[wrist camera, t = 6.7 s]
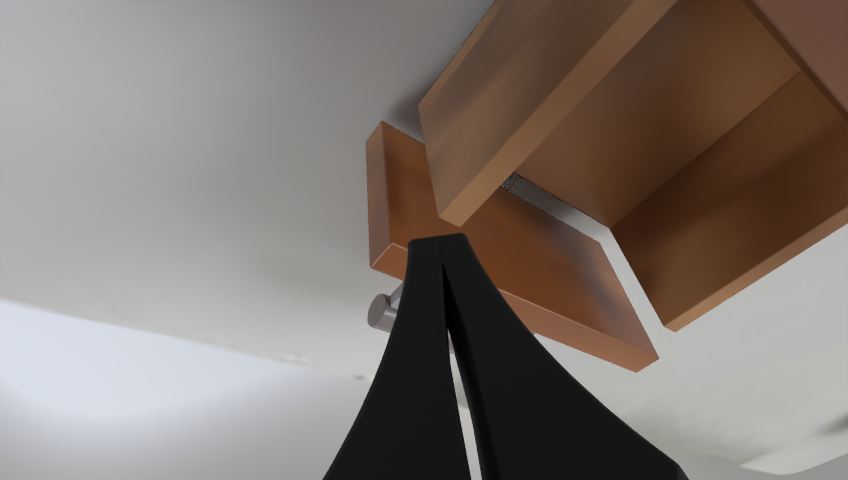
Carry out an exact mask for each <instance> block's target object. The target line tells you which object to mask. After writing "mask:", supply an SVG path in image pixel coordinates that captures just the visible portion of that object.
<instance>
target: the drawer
mask: <svg viewBox="0 0 848 480" xmlns="http://www.w3.org/2000/svg"><path fill="white" fill-rule="evenodd" d="M418 111H419V116H420V123H421V128H422V133H423V139H424V144H423V143H421V142H419V141H418V140H416V139H414V138H412V137H410V136H409V135H407V134H405V133H403V132H402V131H400V130H398V129H396V128H394V127H393V126H391V125H389V124H387V123H386V122H384V121H381V122H380V123H379V125H378V126H377V127H376V129H375V130H374V132H373V133H372V134H371V136H370V137H369V139H368V140H367V141H366V163H367V193H368V224H369V255H370V267H371V268H372V269H375V270H377V271H380V272H382V273H385V274H387V275H390V276H392V277H395V278H397V279H400V280H403V281H404V279H405V274H406V267H407V257H408V243H409V242H410V241H411V240H412V239H418V238H426V237H433V236H440V235H448V234H455V233H463V234H465V235H466V236H467V238H468V240H469V242H470V245H471V247H472V249H473V250H474V252H475V254H476V256H477V258H478V259H479V261H480V263H481V265H482V266H483V268H484V269H485V271H486V273H487V274H488V276H489V277H490V279H491V280H492V282H493V283H494V285H495V286H496V288H497V289H498V290H499V292H500V293H501V295H502V296H503V297H504V299H505V300H506V302H507V303H508V304H509V306H510V307H511V308H512V310H513V311H514V312H515V314H516V315H517V316H518V317H519V318H520V320H521V321H522V322H523V323H524V325H525V326H526V327H527V328H528V330H529V331H530V332H531V333H532V334H534V333H537V334H540V335H542V336H545V337H547V338H550V339H552V340H555V341H557V342H560V343H562V344H565V345H567V346H570V347H573V348H575V349H578V350H580V351H583V352H585V353H588V354H590V355H593V356H595V357H598V358H600V359H603V360H605V361H608V362H611V363H613V364H616V365H618V366H621V367H623V368H626V369H628V370H631V371H633V372H638V371H640V370H642V369H643V368H645V367H647V366H648V365H650V364H652V363H653V362H655V361H656V360H658V359H659V357H658V355H657V353H656V351H655V349H654V347H653V345H652V343H651V341H650V339H649V337H648V335H647V333H646V332H645V330H644V328H643V326H642V324H641V322H640V320H639V318H638V316H637V314H636V312H635V310H634V308H633V306H632V305H631V303H630V301H629V299H628V297H627V295H626V293H625V291H624V289H623V287H622V285H621V283H620V281H619V279H618V277H617V276H616V274H615V272H614V270H613V268H612V266H611V264H610V262H609V260H608V258H607V256H606V254H605V252H604V250H603V249H602V247H601V245H600V243H599V242H597V241H596V240H594V239H592V238H590V237H589V236H587V235H585V234H583V233H581V232H580V231H578V230H576V229H574V228H572V227H571V226H569V225H567V224H565V223H564V222H562V221H560V220H558V219H556V218H555V217H553V216H551V215H549V214H548V213H546V212H544V211H542V210H540V209H539V208H537V207H535V206H533V205H532V204H530V203H528V202H526V201H524V200H523V199H521V198H519V197H517V196H516V195H514V194H512V193H510V192H508V191H507V190H505V189H503V188H501V187H500V185H501V184H502V183H503V182H504V181H505V180H506V179H507V178H508V177H509V176H510V175H511V174H512V173H513V172H515V173H516V174H518V175H520V176H521V177H523V178H525V179H526V180H528V181H530V182H531V183H533V184H535V185H537V186H538V187H540V188H542V189H543V190H545V191H547V192H548V193H550V194H552V195H553V196H555V197H557V198H559V199H560V200H562V201H564V202H565V203H567V204H569V205H570V206H572V207H574V208H575V209H577V210H579V211H581V212H582V213H584V214H586V215H587V216H589V217H591V218H592V219H594V220H596V221H597V222H599V223H601V224H603V225H604V226H606V227H608V228H609V229H610V231H611V232H612V234H613V236H614V238H615V240H616V241H617V243H618V245H619V247H620V249H621V250H622V252H623V254H624V256H625V258H626V259H627V261H628V263H629V265H630V267H631V268H632V270H633V272H634V274H635V276H636V277H637V279H638V281H639V283H640V285H641V286H642V288H643V290H644V292H645V294H646V295H647V297H648V299H649V301H650V303H651V304H652V306H653V308H654V310H655V312H656V313H657V315H658V317H659V319H660V321H661V322H662V324H663V326H664V327H666V328H668V329H670V330H672V331H674V332H676V331H678V330H680V329H681V328H683V327H684V326H686V325H688V324H689V323H691V322H692V321H694V320H695V319H697V318H699V317H700V316H702V315H703V314H705V313H706V312H708V311H710V310H711V309H713V308H714V307H716V306H718V305H719V304H721V303H722V302H724V301H725V300H727V299H729V298H730V297H732V296H733V295H735V294H737V293H738V292H740V291H741V290H743V289H744V288H746V287H748V286H749V285H751V284H752V283H754V282H756V281H757V280H759V279H760V278H762V277H763V276H765V275H767V274H768V273H770V272H771V271H773V270H774V269H776V268H778V267H779V266H781V265H782V264H784V263H786V262H787V261H789V260H790V259H792V258H793V257H795V256H797V255H798V254H800V253H801V252H803V251H805V250H806V249H808V248H809V247H811V246H812V245H814V244H816V243H817V242H819V241H820V240H822V239H824V238H825V237H827V236H828V235H830V234H831V233H833V232H835V231H836V230H838V229H839V228H841V227H843V226H844V225H846V224H847V223H848V122H847V121H846V120H845V119H844V118H843V117H842V116H841V114H840V113H839V112H838V111H837V110H836V109H835V107H834V106H833V105H832V104H831V103H830V102H829V101H828V99H827V98H826V97H825V96H824V95H823V94H822V93H821V91H820V90H819V89H818V88H817V87H816V86H815V85H814V83H813V82H812V81H811V80H810V79H809V78H808V76H807V75H806V74H805V73H804V72H803V71H802V70H801V68H800V67H799V66H798V65H797V64H796V63H795V62H794V60H793V59H792V58H791V57H790V56H789V55H788V53H787V52H786V51H785V50H784V49H783V48H782V47H781V45H780V44H779V43H778V42H777V41H776V40H775V39H774V37H773V36H772V35H771V34H770V33H769V32H768V30H767V29H766V28H765V27H764V26H763V25H762V24H761V22H760V21H759V20H758V19H757V18H756V17H755V16H754V14H753V13H752V12H751V11H750V10H749V9H748V7H747V6H746V5H745V4H744V3H743V2H742V1H741V0H496V1H495V3H494V4H493V5H492V7H491V8H490V9H489V11H488V12H487V13H486V15H485V16H484V17H483V19H482V20H481V21H480V23H479V24H478V25H477V27H476V28H475V29H474V31H473V32H472V34H471V35H470V36H469V38H468V39H467V40H466V42H465V43H464V44H463V46H462V47H461V48H460V50H459V51H458V52H457V54H456V55H455V56H454V58H453V59H452V60H451V62H450V63H449V64H448V66H447V67H446V68H445V70H444V71H443V72H442V74H441V75H440V76H439V78H438V79H437V81H436V82H435V83H434V85H433V86H432V87H431V89H430V90H429V91H428V93H427V94H426V95H425V97H424V98H423V99H422V101H421V102H420V103H419V105H418ZM403 285H404V282H403V283H402V284H401V285H400V286H399V287H398V288H397V289H396V290H395V291H394V292H393V293H392V294H391V296H388V295H385V294H379V295H377V296H376V297H375V299H374V300H373V302H372V303H371V306H370V308H369V312H368V324H369V325H370V326H371V327H373V328H376V329H379V330H382V331H385V332H388V333H391V330H392V327H393V324H394V321H395V318H396V314H397V310H398V306H399V302H400V298H401V294H402V289H403ZM448 336H449V352H450V353H452V354H455V353H454V349H453V345H452V342H451V338H450V334H449V330H448Z"/></svg>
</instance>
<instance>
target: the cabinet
mask: <svg viewBox="0 0 848 480" xmlns="http://www.w3.org/2000/svg"><path fill="white" fill-rule="evenodd" d="M741 1H742V2H743V3H744V4H745V5H746V6H747V7H748V9H749V10H750V11H751V12H752V13H753V14H754V16H755V17H756V18H757V19H758V20H759V21H760V22H761V24H762V25H763V26H764V27H765V28H766V29H767V30H768V32H769V33H770V34H771V35H772V36H773V37H774V39H775V40H776V41H777V42H778V43H779V44H780V45H781V47H782V48H783V49H784V50H785V51H786V52H787V53H788V55H789V56H790V57H791V58H792V59H793V60H794V62H795V63H796V64H797V65H798V66H799V67H800V68H801V70H802V71H803V72H804V73H805V74H806V75H807V76H808V78H809V79H810V80H811V81H812V82H813V83H814V85H815V86H816V87H817V88H818V89H819V90H820V91H821V93H822V94H823V95H824V96H825V97H826V98H827V99H828V101H829V102H830V103H831V104H832V105H833V106H834V107H835V109H836V110H837V111H838V112H839V113H840V114H841V116H842V117H843V118H844V119H845V120H846V121H847V122H848V0H741Z"/></svg>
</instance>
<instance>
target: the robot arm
mask: <svg viewBox="0 0 848 480" xmlns="http://www.w3.org/2000/svg"><path fill="white" fill-rule="evenodd" d="M448 330H449V334H450V338H451V342H452V345H453V349H454V353H455V357H456V361H457V364H458V368H459V372H460V376H461V380H462V383H463V387H464V391H465V395H466V399H467V402H468V406H469V410H470V415H471V419H472V424H473V429H474V434H475V440H476V446H477V452H478V458H479V464H480V470H481V476H482V480H689V479H688V478H687V476H686V475H685V473H684V472H683V470H682V469H681V467H680V466H679V465H678V464H677V463H676V462H675V461H674V460H672V459H671V458H669V457H668V456H667V455H666V454H664V453H663V452H662V451H660V450H659V449H658V448H656V447H655V446H653V445H652V444H651V443H650V442H648V441H647V440H646V439H644V438H643V437H642V436H641V435H639V434H638V433H637V432H635V431H634V430H633V429H632V428H630V427H629V426H628V425H627V424H626V423H624V422H623V421H622V420H621V419H620V418H618V417H617V416H616V415H615V414H614V413H612V412H611V411H610V410H609V409H608V408H606V407H605V406H604V405H603V404H602V403H601V402H600V401H599V400H598V399H597V398H595V397H594V396H593V395H592V394H591V393H590V392H589V391H588V390H587V389H586V388H584V387H583V386H582V385H581V384H580V383H579V382H578V381H577V380H576V379H575V378H573V377H572V376H571V375H570V374H569V373H568V372H567V371H566V370H565V369H564V368H563V367H562V366H561V365H560V364H559V363H558V362H557V361H556V359H555V358H554V357H553V356H552V355H551V354H550V353H549V352H548V351H547V350H546V349H545V348H544V347H543V346H542V344H541V343H540V342H539V341H538V340H537V339H536V338H535V337H534V335H533V334H532V333H531V332H530V331H529V330H528V328H527V327H526V326H525V325H524V323H523V322H522V321H521V320H520V318H519V317H518V316H517V315H516V314H515V312H514V311H513V310H512V308H511V307H510V306H509V304H508V303H507V302H506V300H505V299H504V297H503V296H502V295H501V293H500V292H499V290H498V289H497V288H496V286H495V285H494V283H493V282H492V280H491V279H490V277H489V276H488V274H487V273H486V271H485V269H484V268H483V266H482V265H481V263H480V261H479V259H478V258H477V256H476V254H475V252H474V250H473V249H472V247H471V245H470V242H469V240H468V238H467V236H466V235H465V234H463V233H455V234H448V235H440V236H433V237H426V238H418V239H412V240H411V241H410V242H409V243H408V257H407V267H406V274H405V279H404V285H403V289H402V294H401V298H400V302H399V306H398V310H397V314H396V318H395V321H394V324H393V327H392V330H391V334H390V337H389V340H388V343H387V346H386V349H385V352H384V355H383V357H382V360H381V363H380V365H379V368H378V370H377V373H376V375H375V378H374V380H373V383H372V385H371V387H370V389H369V392H368V394H367V396H366V398H365V400H364V403H363V405H362V407H361V409H360V411H359V413H358V416H357V418H356V420H355V422H354V424H353V426H352V427H351V429H350V431H349V433H348V435H347V437H346V439H345V441H344V442H343V444H342V446H341V448H340V450H339V452H338V454H337V455H336V457H335V459H334V461H333V463H332V464H331V466H330V468H329V470H328V471H327V473H326V475H325V476H324V478H323V480H471V476H470V470H469V465H468V459H467V455H466V448H465V443H464V438H463V432H462V427H461V422H460V416H459V410H458V405H457V399H456V393H455V388H454V382H453V377H452V371H451V365H450V352H449V336H448Z"/></svg>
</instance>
